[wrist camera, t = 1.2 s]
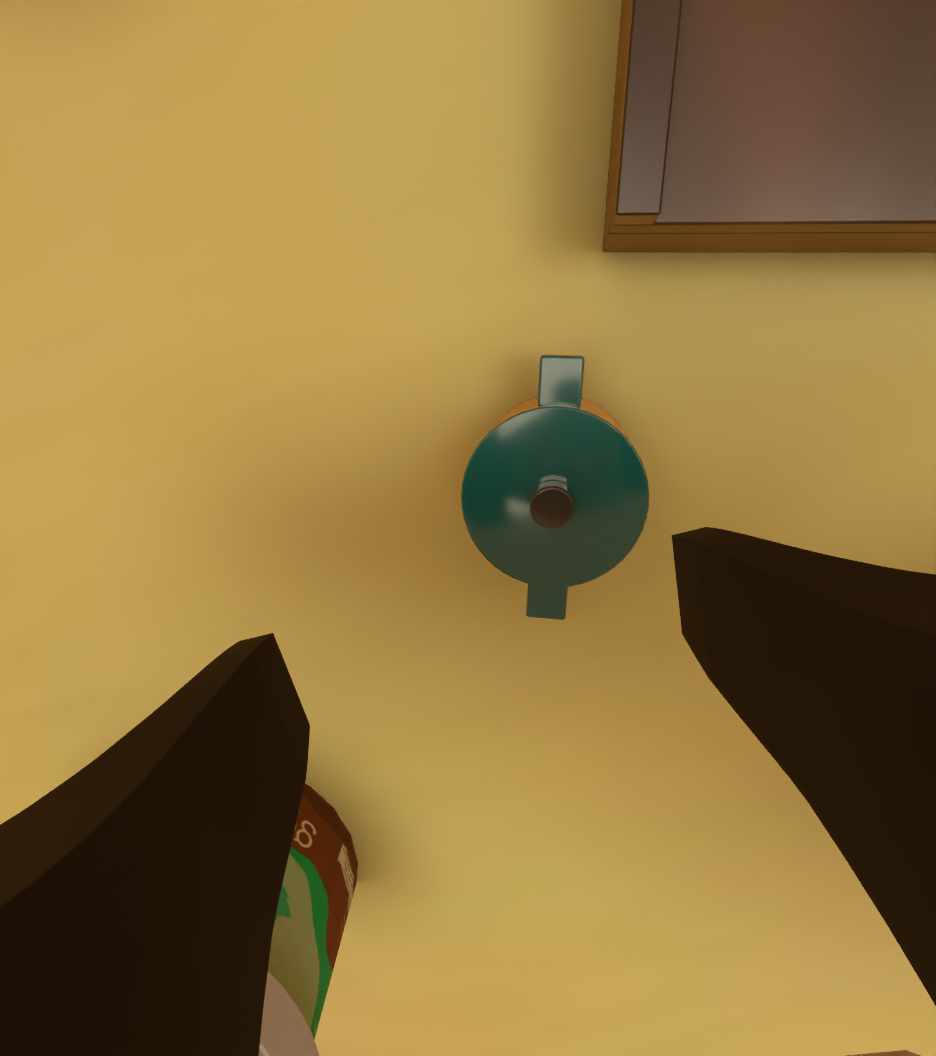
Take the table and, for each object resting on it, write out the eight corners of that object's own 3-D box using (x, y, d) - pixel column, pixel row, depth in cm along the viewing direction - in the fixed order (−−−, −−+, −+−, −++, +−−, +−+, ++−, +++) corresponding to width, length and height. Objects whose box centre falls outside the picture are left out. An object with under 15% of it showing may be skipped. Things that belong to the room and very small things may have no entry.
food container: (408, 784, 26) (317, 1033, 17) (387, 891, 28) (294, 1169, 19) (144, 711, 27) (-82, 905, 18) (141, 818, 29) (-65, 1046, 20)
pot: (644, 355, 20) (670, 359, 15) (621, 579, 22) (637, 649, 17) (486, 352, 21) (458, 353, 15) (479, 568, 23) (453, 632, 18)
